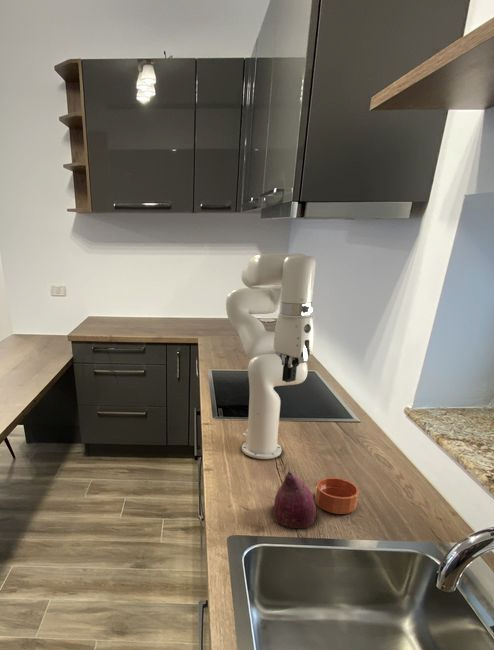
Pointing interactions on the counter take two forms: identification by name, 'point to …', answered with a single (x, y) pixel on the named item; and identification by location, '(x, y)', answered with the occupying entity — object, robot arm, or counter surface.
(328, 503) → the bowl
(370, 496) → the counter surface
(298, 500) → the vegetable
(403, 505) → the counter surface
